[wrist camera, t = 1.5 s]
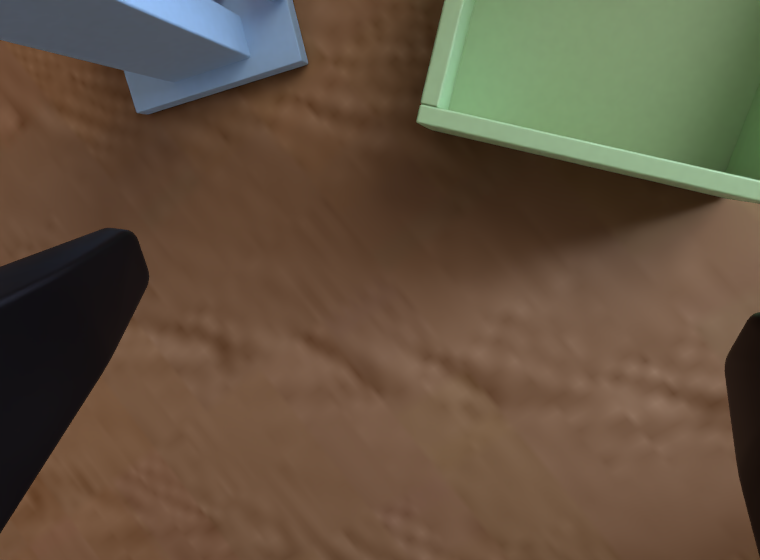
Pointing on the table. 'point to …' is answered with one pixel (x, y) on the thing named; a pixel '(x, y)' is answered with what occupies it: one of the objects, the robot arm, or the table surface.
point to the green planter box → (607, 86)
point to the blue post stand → (164, 41)
